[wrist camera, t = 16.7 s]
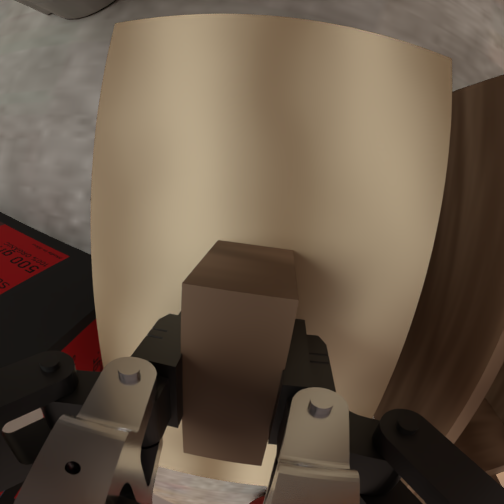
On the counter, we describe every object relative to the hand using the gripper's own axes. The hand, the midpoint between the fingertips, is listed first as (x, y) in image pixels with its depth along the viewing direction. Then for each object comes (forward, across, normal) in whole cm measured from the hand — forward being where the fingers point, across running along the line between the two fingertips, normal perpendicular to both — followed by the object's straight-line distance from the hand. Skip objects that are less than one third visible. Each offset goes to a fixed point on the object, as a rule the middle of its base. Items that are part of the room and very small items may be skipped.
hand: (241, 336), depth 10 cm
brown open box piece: (+9, -16, +2) cm, 18 cm away
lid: (+3, 0, 0) cm, 3 cm away
